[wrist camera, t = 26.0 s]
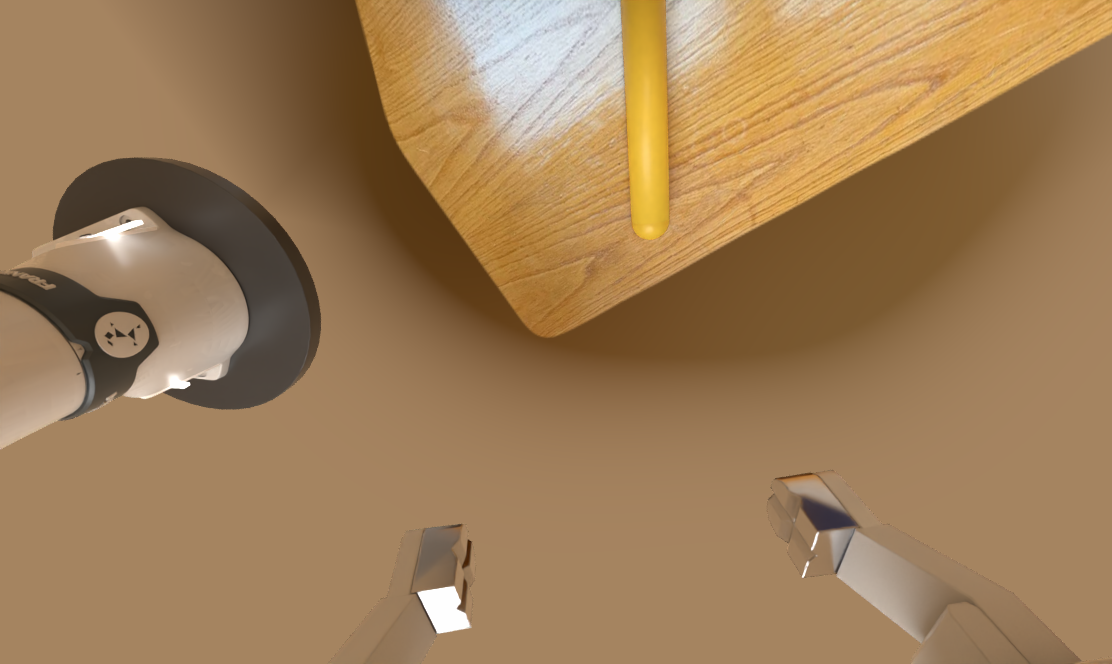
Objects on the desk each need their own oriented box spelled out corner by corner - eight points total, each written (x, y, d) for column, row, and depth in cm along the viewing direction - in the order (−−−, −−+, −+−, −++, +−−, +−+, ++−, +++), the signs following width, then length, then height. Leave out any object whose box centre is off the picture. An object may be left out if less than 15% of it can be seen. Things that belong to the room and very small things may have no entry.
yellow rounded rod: (677, 236, 36) (651, 244, 35) (650, 234, 39) (625, 241, 37) (674, -92, 28) (640, -102, 26) (639, -68, 31) (607, -76, 29)
